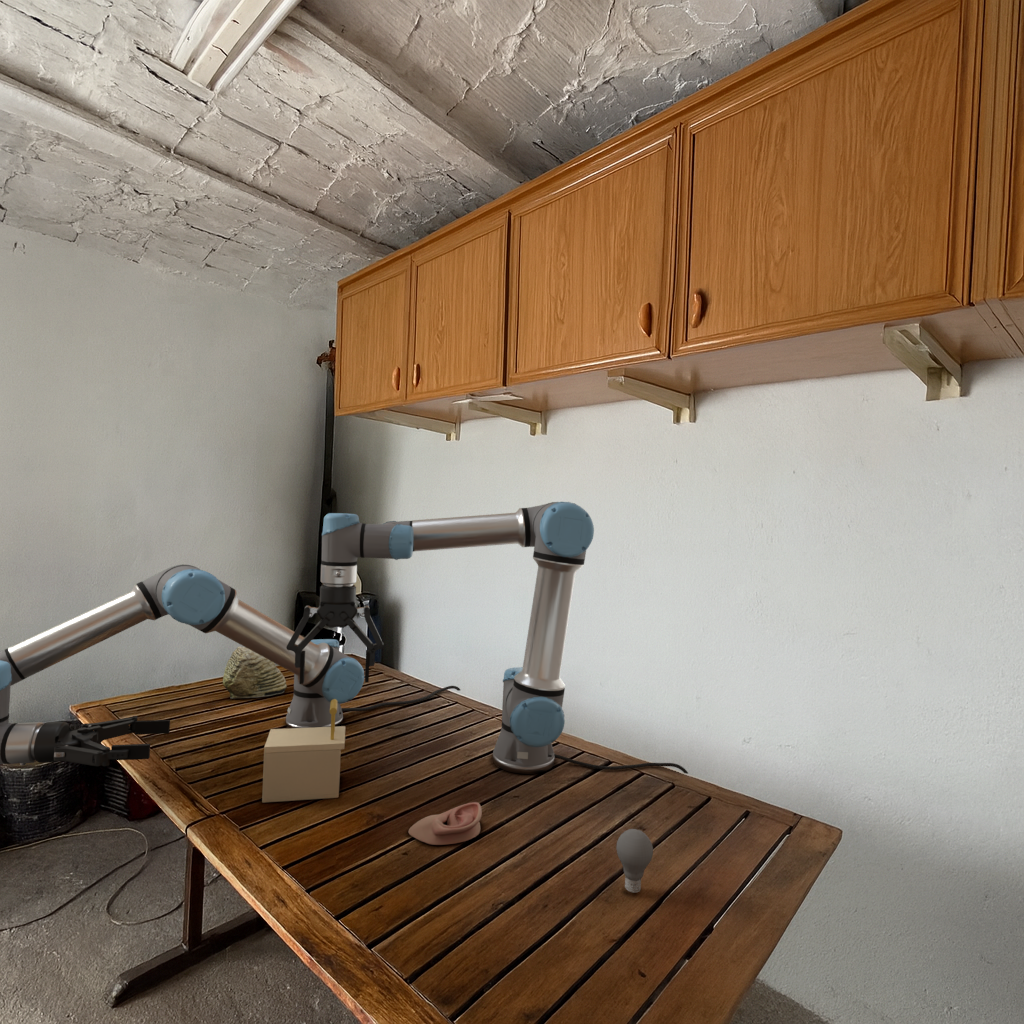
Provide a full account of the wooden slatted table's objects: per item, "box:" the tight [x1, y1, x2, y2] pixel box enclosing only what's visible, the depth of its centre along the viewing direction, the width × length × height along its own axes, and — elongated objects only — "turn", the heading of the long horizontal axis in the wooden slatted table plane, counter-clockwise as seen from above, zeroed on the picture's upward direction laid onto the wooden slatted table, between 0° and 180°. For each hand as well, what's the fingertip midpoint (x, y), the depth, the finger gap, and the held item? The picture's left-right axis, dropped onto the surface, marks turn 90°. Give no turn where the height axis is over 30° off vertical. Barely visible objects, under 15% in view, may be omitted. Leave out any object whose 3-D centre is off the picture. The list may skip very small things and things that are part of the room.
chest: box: [261, 749, 342, 803], centre depth 137 cm, size 15×10×10 cm
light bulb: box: [615, 828, 654, 894], centre depth 106 cm, size 6×6×10 cm
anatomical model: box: [407, 801, 483, 846], centre depth 122 cm, size 13×4×12 cm
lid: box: [263, 699, 346, 754], centre depth 137 cm, size 16×10×8 cm, turn 104°
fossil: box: [222, 646, 288, 699], centre depth 198 cm, size 9×18×15 cm, turn 132°
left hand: (160, 738), depth 130 cm, fingers open, 13 cm apart
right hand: (334, 681), depth 138 cm, fingers open, 13 cm apart
